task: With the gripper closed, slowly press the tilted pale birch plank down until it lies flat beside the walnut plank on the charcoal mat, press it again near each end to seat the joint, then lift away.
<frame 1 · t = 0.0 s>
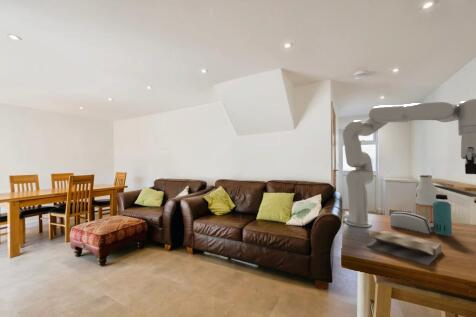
hand: (473, 173, 82), 31 cm above the table, tool pointing down, fingers open, 9 cm apart
beverage bottle: (442, 236, 98), on the table
birch plank: (399, 241, 83), point 4 cm above the table, hinge at 25.0°
fruit juice: (427, 225, 114), on the table
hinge: (409, 229, 109), on the table
floor panel: (402, 249, 85), on the table
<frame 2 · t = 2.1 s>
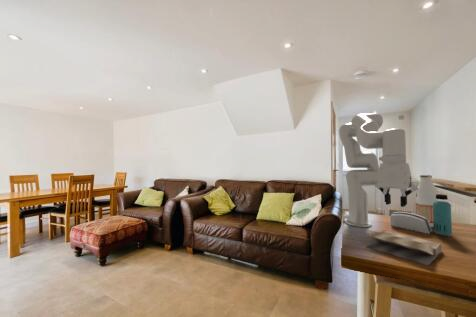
hand: (395, 204, 82), 19 cm above the table, tool pointing down, fingers open, 4 cm apart
nothing on the table moved.
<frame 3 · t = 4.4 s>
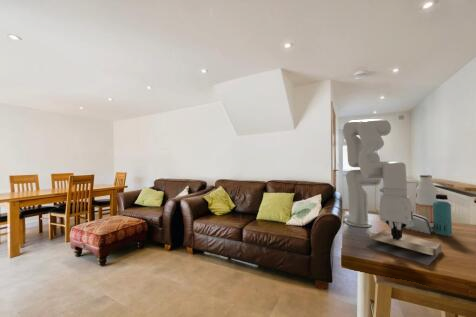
hand: (396, 238, 81), 6 cm above the table, tool pointing down, fingers closed
birch plank: (399, 242, 83), point 3 cm above the table, hinge at 19.0°, touching gripper
everything else where it was.
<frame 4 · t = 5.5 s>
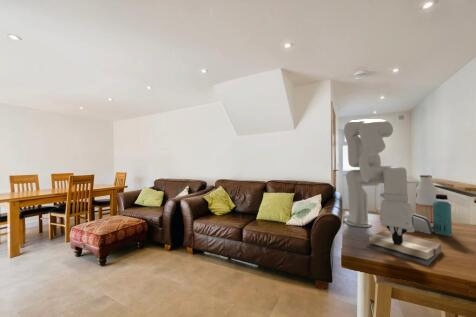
hand: (397, 243, 81), 4 cm above the table, tool pointing down, fingers closed
birch plank: (399, 245, 83), point 2 cm above the table, hinge at 4.9°, touching gripper
everything else where it was.
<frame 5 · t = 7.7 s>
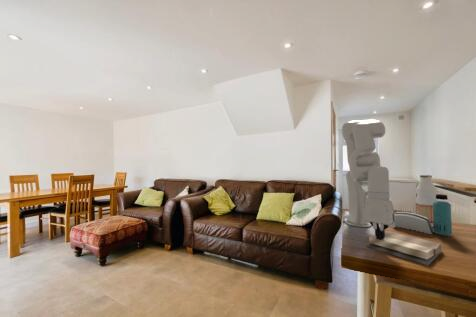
hand: (380, 238, 86), 4 cm above the table, tool pointing down, fingers closed
nothing on the table moved.
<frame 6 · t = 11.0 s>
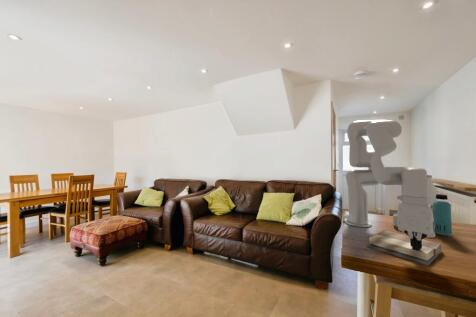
hand: (416, 249, 77), 4 cm above the table, tool pointing down, fingers closed
birch plank: (399, 245, 83), point 2 cm above the table, hinge at 2.6°, touching gripper
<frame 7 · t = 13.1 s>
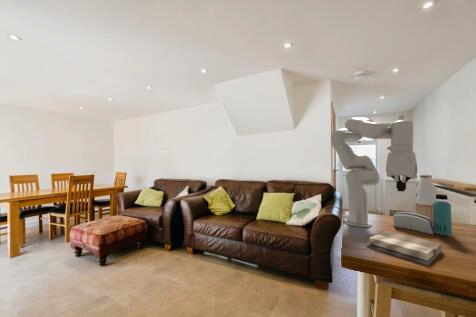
hand: (401, 190, 90), 24 cm above the table, tool pointing down, fingers closed
birch plank: (399, 245, 83), point 2 cm above the table, hinge at 2.5°
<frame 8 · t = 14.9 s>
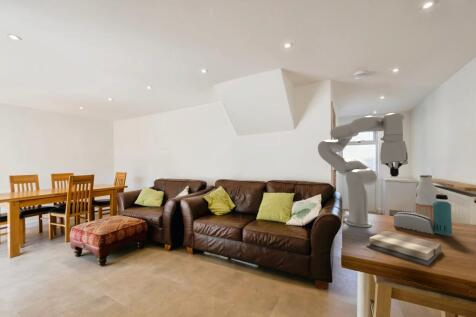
hand: (394, 176, 99), 29 cm above the table, tool pointing down, fingers closed
at the end: birch plank at +2° (first picture: +25°) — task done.
